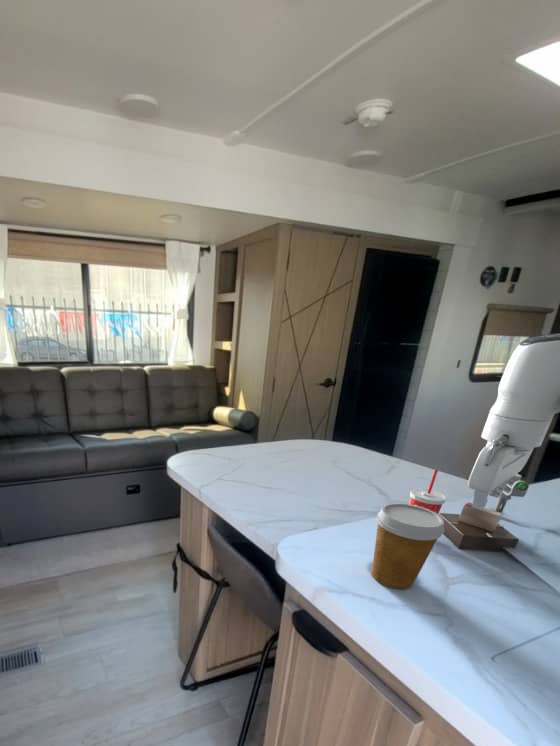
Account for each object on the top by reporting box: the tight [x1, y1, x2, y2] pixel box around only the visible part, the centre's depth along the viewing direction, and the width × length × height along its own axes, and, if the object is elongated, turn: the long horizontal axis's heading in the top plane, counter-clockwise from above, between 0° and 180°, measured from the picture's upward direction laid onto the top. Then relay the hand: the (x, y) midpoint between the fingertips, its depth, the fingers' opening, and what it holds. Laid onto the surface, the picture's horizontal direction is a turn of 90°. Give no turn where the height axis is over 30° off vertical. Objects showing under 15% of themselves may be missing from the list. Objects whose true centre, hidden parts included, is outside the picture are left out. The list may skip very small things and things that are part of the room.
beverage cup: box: [408, 469, 448, 514], centre depth 80 cm, size 6×6×14 cm
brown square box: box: [438, 512, 520, 553], centre depth 81 cm, size 10×10×3 cm
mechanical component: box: [493, 473, 530, 514], centre depth 90 cm, size 3×10×10 cm, turn 166°
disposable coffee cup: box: [371, 502, 445, 590], centre depth 65 cm, size 10×10×12 cm
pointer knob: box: [458, 502, 503, 532], centre depth 80 cm, size 6×2×4 cm, turn 39°
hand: (486, 501), depth 79 cm, fingers open, 8 cm apart
